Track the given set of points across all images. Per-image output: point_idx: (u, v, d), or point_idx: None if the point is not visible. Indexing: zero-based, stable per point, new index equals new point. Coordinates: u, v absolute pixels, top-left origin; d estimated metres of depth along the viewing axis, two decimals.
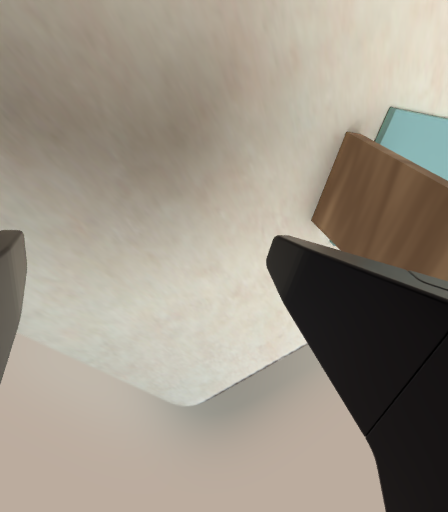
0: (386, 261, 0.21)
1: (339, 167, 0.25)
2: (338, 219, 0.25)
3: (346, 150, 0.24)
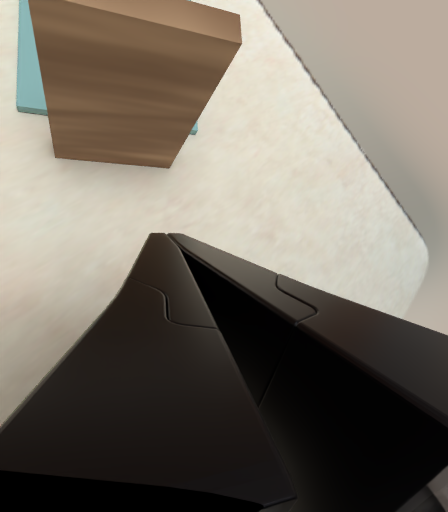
0: (169, 99, 0.16)
1: (95, 156, 0.22)
2: (151, 147, 0.21)
3: (73, 154, 0.21)
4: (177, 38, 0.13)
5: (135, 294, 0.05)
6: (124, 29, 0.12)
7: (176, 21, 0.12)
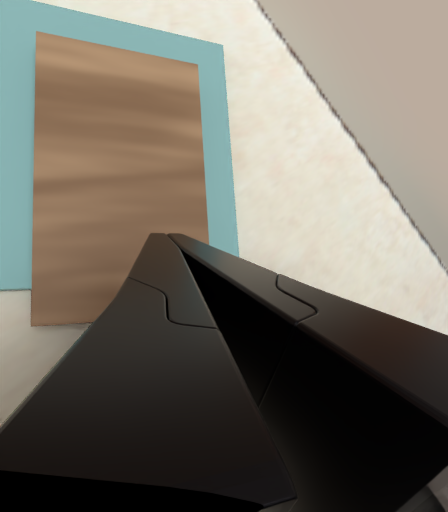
0: (165, 139, 0.16)
1: (97, 303, 0.14)
2: None
3: (62, 304, 0.13)
4: (150, 63, 0.16)
5: (135, 294, 0.05)
6: (109, 58, 0.16)
7: (145, 57, 0.16)
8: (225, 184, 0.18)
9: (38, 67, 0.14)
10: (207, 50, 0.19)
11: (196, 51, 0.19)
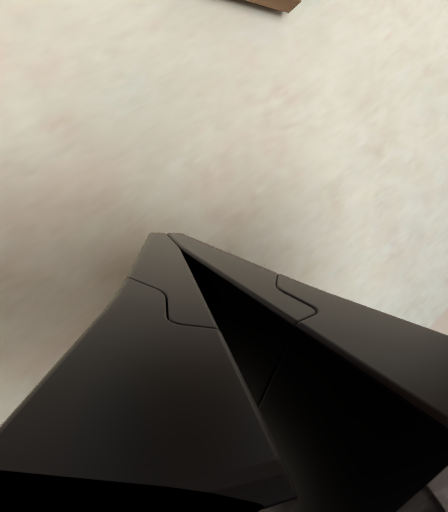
0: None
1: None
2: None
3: None
4: None
5: (135, 294, 0.05)
6: None
7: None
8: None
9: None
10: None
11: None
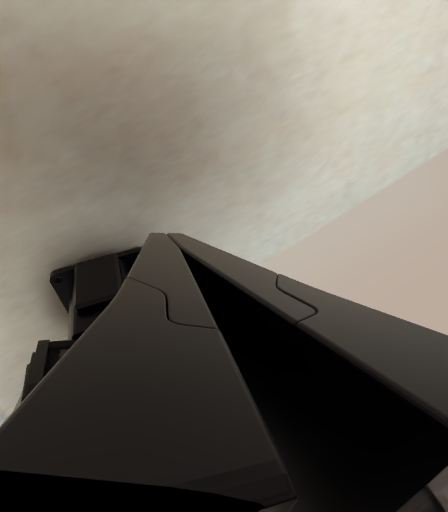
0: None
1: None
2: None
3: None
4: None
5: (135, 294, 0.05)
6: None
7: None
8: None
9: None
10: None
11: None
